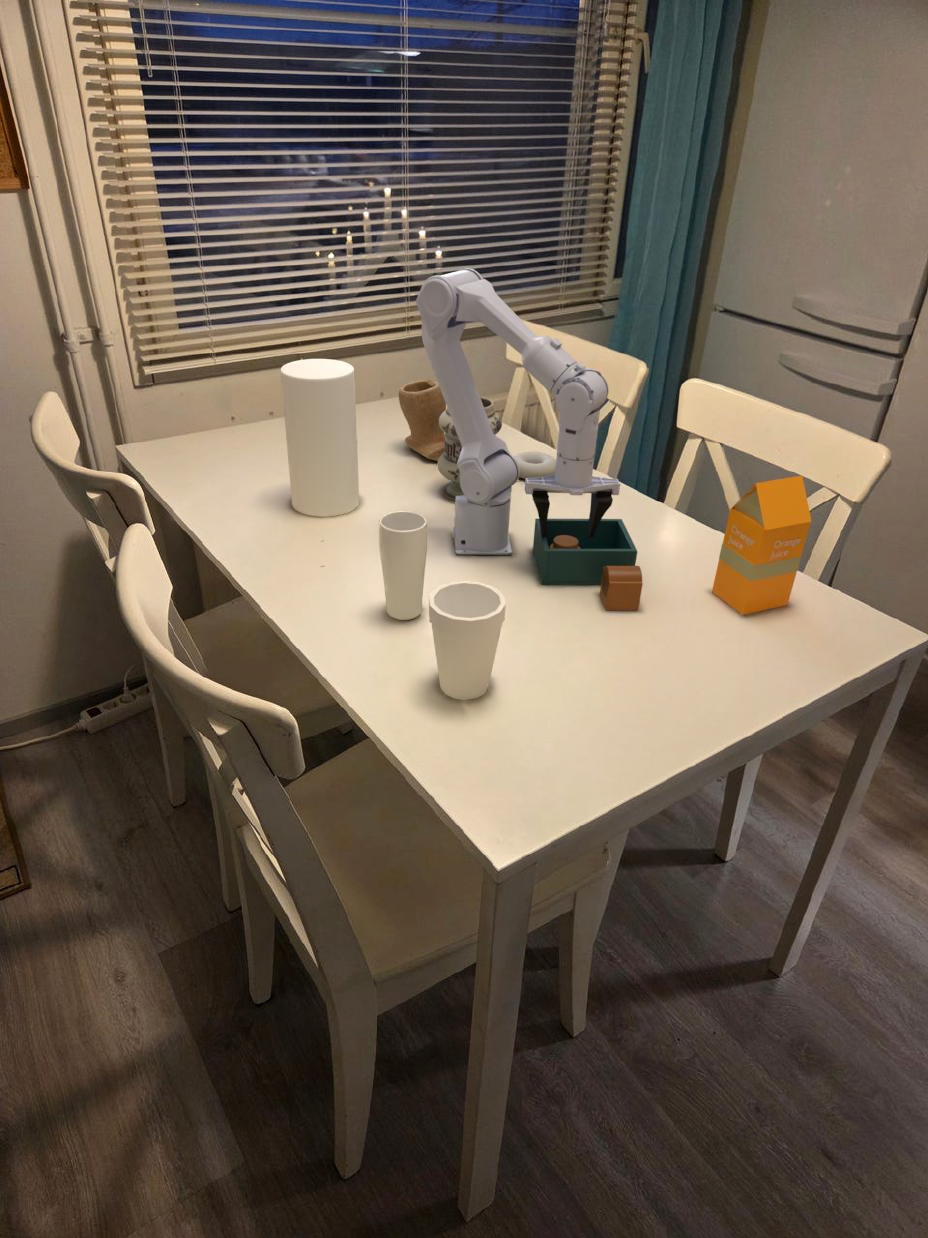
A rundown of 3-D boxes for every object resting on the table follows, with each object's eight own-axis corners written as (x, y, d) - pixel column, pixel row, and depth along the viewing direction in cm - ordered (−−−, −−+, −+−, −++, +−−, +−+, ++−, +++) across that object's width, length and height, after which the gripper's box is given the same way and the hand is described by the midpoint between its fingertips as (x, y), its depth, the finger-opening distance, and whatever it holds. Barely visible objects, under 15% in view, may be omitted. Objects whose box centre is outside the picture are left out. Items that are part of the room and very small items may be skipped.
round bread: (550, 573, 133) (552, 547, 131) (546, 558, 137) (548, 533, 135) (581, 573, 133) (584, 547, 131) (575, 558, 138) (578, 533, 135)
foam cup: (426, 664, 112) (427, 581, 105) (494, 663, 112) (499, 580, 105) (430, 708, 104) (431, 621, 97) (503, 706, 104) (509, 620, 97)
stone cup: (390, 444, 181) (389, 376, 173) (439, 437, 186) (440, 370, 178) (419, 469, 170) (419, 397, 162) (470, 460, 174) (473, 390, 166)
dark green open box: (541, 584, 131) (544, 550, 128) (532, 550, 141) (535, 518, 137) (632, 584, 132) (637, 551, 128) (617, 551, 142) (621, 518, 138)
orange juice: (710, 591, 131) (737, 473, 120) (755, 581, 134) (784, 465, 123) (743, 616, 125) (774, 493, 114) (788, 605, 128) (822, 485, 117)
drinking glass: (392, 628, 119) (390, 535, 111) (374, 606, 124) (371, 515, 116) (434, 618, 122) (435, 526, 113) (415, 596, 127) (415, 507, 118)
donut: (505, 480, 166) (554, 485, 165) (506, 464, 165) (556, 468, 163) (512, 462, 175) (560, 466, 173) (513, 447, 173) (561, 451, 171)
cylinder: (279, 508, 152) (265, 372, 138) (314, 484, 161) (305, 354, 148) (338, 521, 148) (331, 382, 134) (371, 496, 158) (366, 364, 144)
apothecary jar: (486, 477, 167) (491, 389, 157) (508, 501, 157) (513, 409, 148) (429, 483, 164) (430, 393, 154) (447, 508, 154) (449, 414, 144)
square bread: (605, 610, 125) (610, 575, 122) (599, 593, 129) (604, 559, 126) (638, 610, 125) (644, 575, 122) (630, 593, 129) (636, 559, 126)
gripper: (531, 463, 121) (524, 545, 128) (628, 464, 122) (616, 546, 129) (525, 445, 127) (519, 525, 134) (618, 447, 128) (607, 526, 135)
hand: (566, 534), depth 132 cm, fingers open, 7 cm apart
